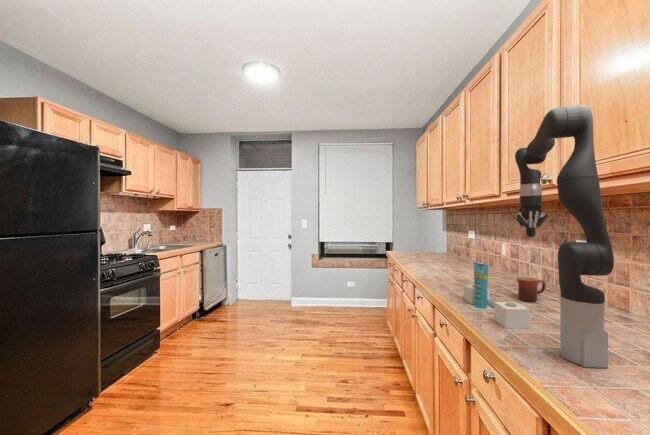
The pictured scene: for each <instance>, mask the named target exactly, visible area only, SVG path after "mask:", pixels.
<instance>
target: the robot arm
mask: <svg viewBox="0 0 650 435" xmlns="http://www.w3.org/2000/svg"><path fill="white" fill-rule="evenodd" d="M564 138H574V146H573V151H572V152H571V155H570V156H569V158H568V159H567V161H566V162H565V163H564V165H563V166H562V168H561V170H560V171H559V173H558V175H557V178H556V188H557V195H558V200H559V202H560V203H561V205H562V206H563V207H564V209H565V210H566V211H567V212H568V213H569V214H570V215H571V216H572V217H573V218H574V219H575V220H576V221H577V222H578V223H579V225H580V227H581V228H582V230H583V233H584V236H585V240H586V241H566V242H562V243H561V244H560V245H559V248H558V250H557V268H558V270H557V271H558V285H559V290H560V291H559V292H560V300H559V301H560V305H559V306H560V314H559V316H560V317H559V318H560V319H559V320H560V323H559V327H560V328H559V329H560V330H559V332H560V333H559V336H560V337H559V338H560V339H559V340H560V342H559V343H560V346H559V347H560V350H559V351H560V356H561V357H562V358H563V359H565V360H567V361H569V362H571V363H573V364H577V365H579V366H582V367H583V368H597V369H598V368H602V369H603V368H608V367H609V333H608V332H607V331H606V330H605V313H606V312H605V311H606V310H605V306H606V304H605V303H606V301H605V300H606V296H605V292H604V291H603V290H602V289H599V288H596V287H594V286H591V285H588V284H585V283H584V282H583V281H582V277H581V276H597V277H600V276H601V277H604V276H605V277H606V276H608V275H610V274H612V272H613V270H614V266H615V256H614V252H613V247H612V244H611V240H610V236H609V232H608V230H607V229H608V228H607V224H606V221H605V216H604V215H605V214H604V211H603V204H602V196H601V185H600V180H599V179H600V178H599V174H598V169H597V162H596V155H595V142H594V141H595V140H594V116H593V112H592V109H591V107H590V106H589V105H587V104H579V105H569V106H563V107H556V108H553V109H551V110H549V111H547V113H546V114H545V115H544V117H543V119H542V121H541V123H540V126H539V127H538V129H537V132H536V134H535V136H534V138H533V139H532V140H531V141H530V142H529V143H528V145H527V146H526V147H520V148H518V149H517V150H516V152H515V154H514V161H515V162H516V166H517V168H518V172H519V175H520V176H519V177H520V179H519V180H520V182H519V183H520V187H519V211H518V213H516V214H513V217H514V219H515V220H516V222H518V224H519V225H520V226H521V227H523V228H525V235H526V237H527V238H535V236H536V228H537V227H541V226H542V225H543V223H544V222H545V220H546V219H547V218H548V216H549V214H547V213H544V212H543V209H542V206H543V187H542V183H541V184H540V178H541V179H542V172H541V171H540V170H539V169H535V168H530V167H529V166H528V165H538V164H542V163H544V162H545V161H546V159H547V155H548V153H549V152H550V151H551V150H552V149H553V148H554V147H555V144H556V139H564ZM545 158H546V159H545ZM544 160H545V161H544ZM543 161H544V162H543Z"/></svg>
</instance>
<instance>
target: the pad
mask: <svg viewBox="0 0 650 435" xmlns="http://www.w3.org/2000/svg"><path fill="white" fill-rule="evenodd" d="M466 307H468V308H469V309H471V311H494V308H492V307H491V306H489V305H487V308H486V309H481V308H477V307H475V306H474V305H473V304H466Z"/></svg>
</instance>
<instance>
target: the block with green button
mask: <svg viewBox="0 0 650 435" xmlns="http://www.w3.org/2000/svg"><path fill="white" fill-rule="evenodd" d="M493 309H494V310H493V320H494V322H497V323H498V324H499V325H501V326H502V327H504V328H505V329H514V330H515V329H518V330H519V329H521V330H523V329H524V330H528V329H530V309H529V308H528V307H525V306H524V305H522V304H519V303H518V302H515V301H514V302H513V301H509V302H508V301H496V302H494V308H493Z"/></svg>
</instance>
